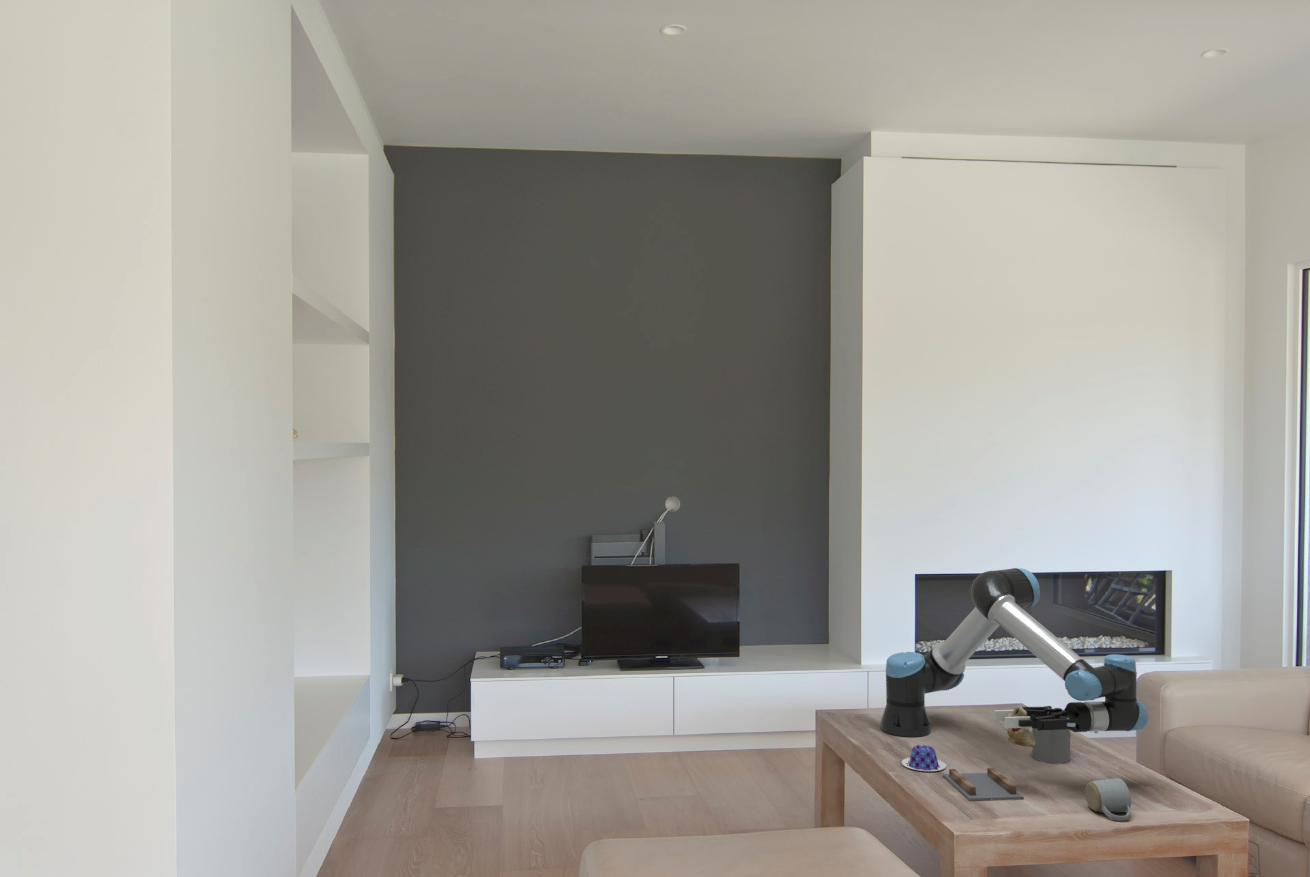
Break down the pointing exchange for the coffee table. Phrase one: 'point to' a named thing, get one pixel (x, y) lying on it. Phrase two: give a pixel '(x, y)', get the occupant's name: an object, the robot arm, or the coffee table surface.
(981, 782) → the mat
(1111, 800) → the ceramic mug
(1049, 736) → the coffee mug
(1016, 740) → the chocolate bunny
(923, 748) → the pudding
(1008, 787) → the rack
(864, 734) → the coffee table surface
